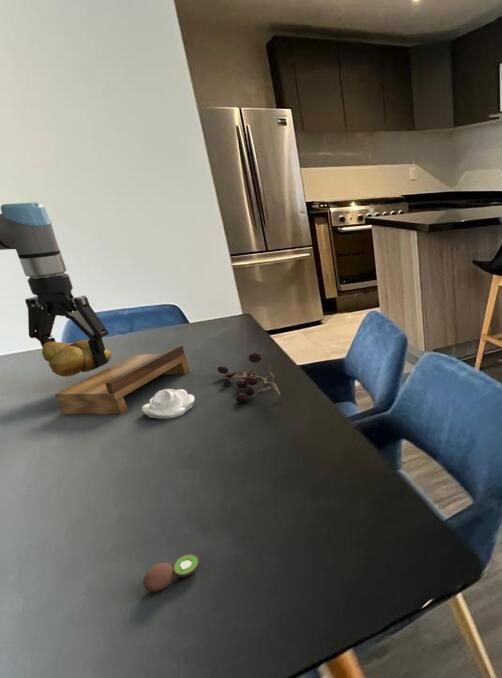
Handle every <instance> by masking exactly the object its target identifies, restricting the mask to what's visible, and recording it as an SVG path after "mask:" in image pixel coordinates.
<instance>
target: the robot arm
mask: <svg viewBox="0 0 502 678" xmlns="http://www.w3.org/2000/svg"><path fill="white" fill-rule="evenodd" d="M0 211H1V213H0V251H7V250H15V252H16V253H17V256H18V258H19V263H20V265H21V268H22V270H23V272H24V276H26V277H28V279H27V283H28V286H29V289H30V291H31V294H33V295H34V296H33V297H29V298H25V299H24V300H25V304H26V307H27V322H28V337H29V338H30V339H36V340H37V341H39V343H40V345H41V348H42V349H43V347H42V346H43V344H44V343H47V342H49V341H50V342H57V341H56V339H55V337H53V335H52V332H53V329H54V325H55V321H56V317H58V316H60V317H65V318H66V319H67V320H71V322H72V323H73V324H74V325H75V326H76V327H77V328H78V329H79V330H81V332H82V333H83V334H84V335H86V337H88V344H89V347H90V350H91V353H92V356H93V359H94V361H95V364H96V367H98V368H101V367H102V366H104V365H107V364H108V363H109V361H108V362H107V359H106V356H105V353H104V351H105V349H106V347H105V344H104V341H103V337H105V336H107V335H109V331H108V329H107V328H106V326H105V325H104V324H103V322H102V321H101V320H100V318H99V316H98V315H97V313H96V312H95V311H94V309H93V308H92V306H91V305H90V302H89V299H88V297H87V296H86V295H81V296H74V295H73V293H72V290H73V289H74V287H73V284H72V281H71V278H70V276H69V274H67V273H66V272H67V267H66V264H65V261H64V258H63V256H62V252H61V250H60V247H59V244H58V241H57V238H56V233H55V232H54V228H53V225H52V224H53V223H52V220H51V219H50V217H49V215H48V212H47V210H46V208H45V206H44V204H42V203H40V202H17V203H16V202H15V203H4V204H3V203H2V205H0Z"/></svg>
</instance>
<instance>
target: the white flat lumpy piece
mask: <svg viewBox="0 0 502 678" xmlns="http://www.w3.org/2000/svg"><path fill="white" fill-rule="evenodd" d="M195 399H196V398H195V396H194V395H193V394H190V393H189V394H188V392H187V390H185V389H182V388H180V389H173V388H165V389H160V390H158V391H157V392H156V393H154V395H153V397H151V398H150V399H149V402H148V403H146V404H143V405H142V406H141V412H142V413H143V414H145V415H146V416H147V417H148V418H153V419H157V420H167V419H168V420H169V419H173V418H177V417H180V416H182V415H184V414H185V413H186V412H187V411H189V410H190V409H191V408H193V405H194V402H195Z"/></svg>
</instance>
